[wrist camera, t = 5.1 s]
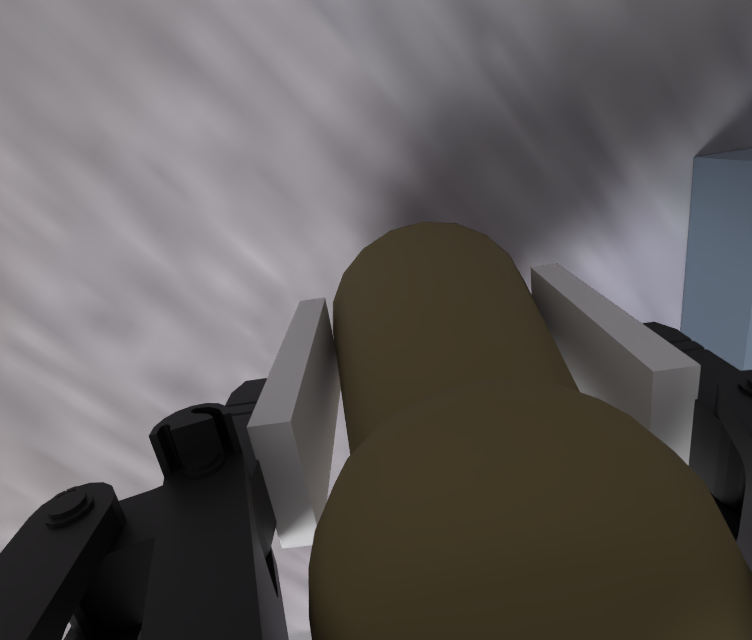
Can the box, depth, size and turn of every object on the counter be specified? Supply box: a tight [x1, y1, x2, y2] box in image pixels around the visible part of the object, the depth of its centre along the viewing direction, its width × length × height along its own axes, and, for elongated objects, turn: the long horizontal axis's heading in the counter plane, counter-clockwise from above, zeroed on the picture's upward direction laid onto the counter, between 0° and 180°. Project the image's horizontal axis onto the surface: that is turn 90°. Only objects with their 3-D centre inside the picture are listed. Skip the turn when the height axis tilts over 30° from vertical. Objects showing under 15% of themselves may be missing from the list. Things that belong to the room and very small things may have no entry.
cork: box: [309, 222, 752, 640], centre depth 10 cm, size 6×6×11 cm
